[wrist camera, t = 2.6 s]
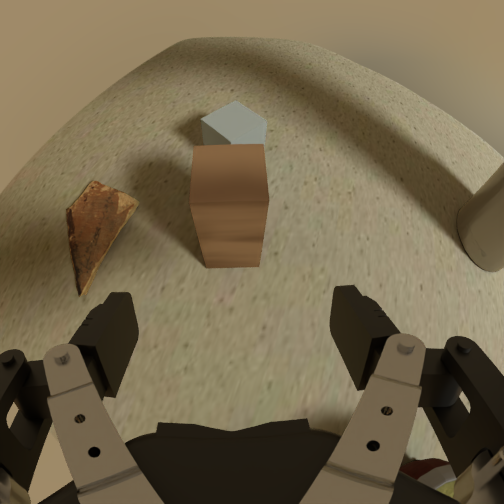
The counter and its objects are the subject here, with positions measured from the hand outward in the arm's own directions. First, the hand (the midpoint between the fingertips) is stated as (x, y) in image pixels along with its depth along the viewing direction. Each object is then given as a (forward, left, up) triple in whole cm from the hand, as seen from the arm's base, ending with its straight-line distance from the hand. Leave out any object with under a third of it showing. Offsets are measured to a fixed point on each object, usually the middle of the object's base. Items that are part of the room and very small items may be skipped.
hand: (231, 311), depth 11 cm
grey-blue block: (-7, -19, -13) cm, 24 cm away
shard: (+8, -15, -13) cm, 21 cm away
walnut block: (-3, -9, -13) cm, 16 cm away
